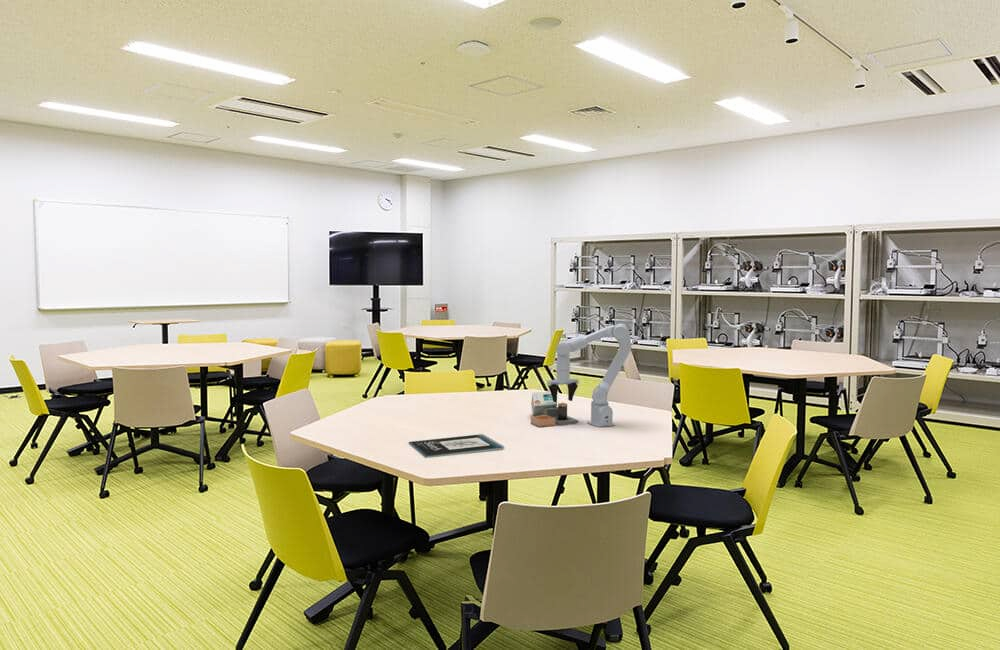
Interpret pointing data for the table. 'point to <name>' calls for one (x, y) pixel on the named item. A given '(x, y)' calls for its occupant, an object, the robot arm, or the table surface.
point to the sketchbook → (456, 445)
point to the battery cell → (562, 411)
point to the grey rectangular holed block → (554, 414)
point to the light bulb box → (541, 402)
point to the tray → (543, 421)
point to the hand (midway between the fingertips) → (562, 401)
